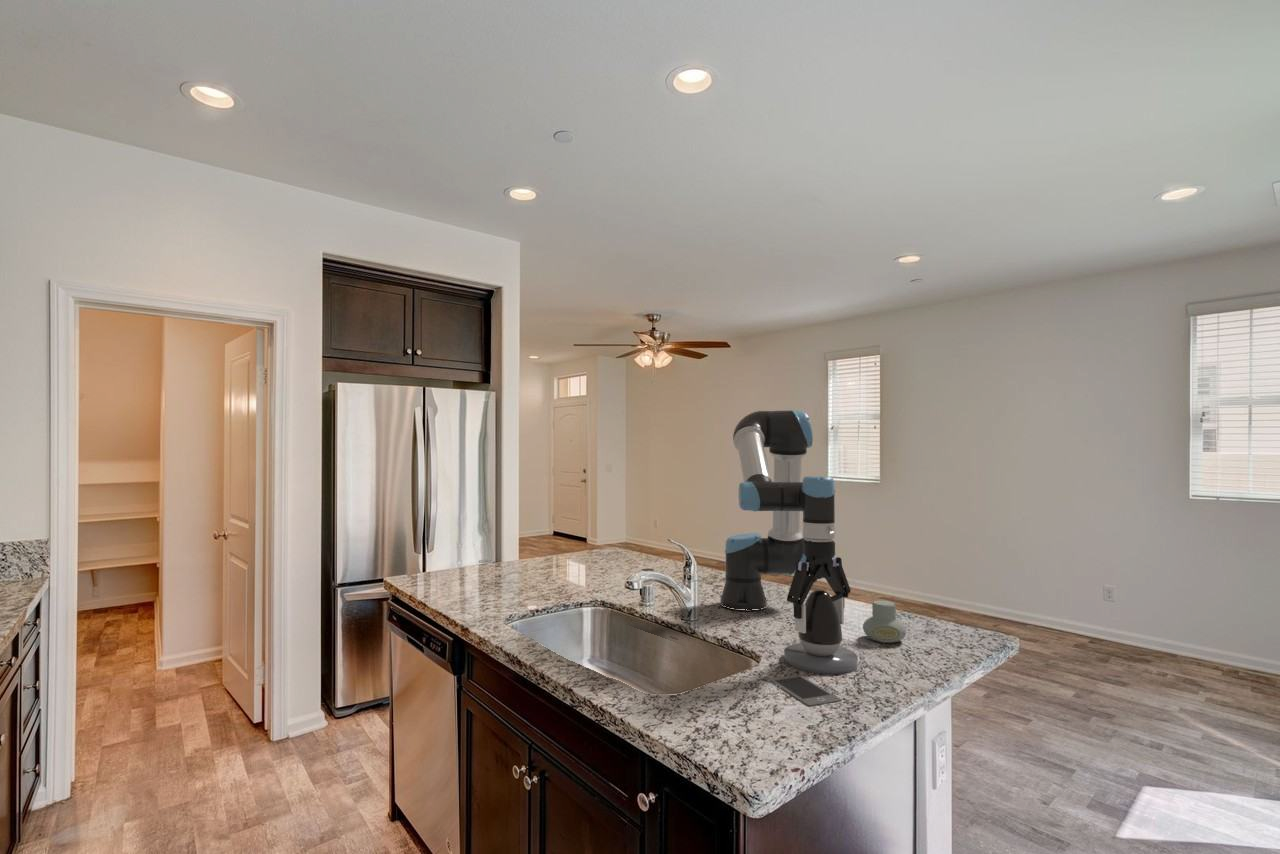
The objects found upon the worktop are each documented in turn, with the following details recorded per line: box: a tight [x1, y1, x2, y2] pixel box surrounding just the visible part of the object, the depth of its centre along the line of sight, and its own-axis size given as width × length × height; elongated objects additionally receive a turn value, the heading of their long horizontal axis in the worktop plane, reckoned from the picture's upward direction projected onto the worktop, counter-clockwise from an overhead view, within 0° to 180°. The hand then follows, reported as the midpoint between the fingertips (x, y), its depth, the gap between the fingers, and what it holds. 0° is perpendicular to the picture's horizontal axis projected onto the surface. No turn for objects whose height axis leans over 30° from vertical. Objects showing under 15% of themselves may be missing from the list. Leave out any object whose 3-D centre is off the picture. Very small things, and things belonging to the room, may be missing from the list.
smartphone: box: [769, 674, 842, 708], centre depth 131 cm, size 15×8×1 cm, turn 20°
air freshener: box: [862, 600, 907, 644], centre depth 165 cm, size 11×8×10 cm
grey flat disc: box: [783, 642, 858, 675], centre depth 148 cm, size 17×17×2 cm
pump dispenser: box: [797, 589, 843, 656], centre depth 149 cm, size 10×10×15 cm
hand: (819, 627), depth 148 cm, fingers open, 13 cm apart
